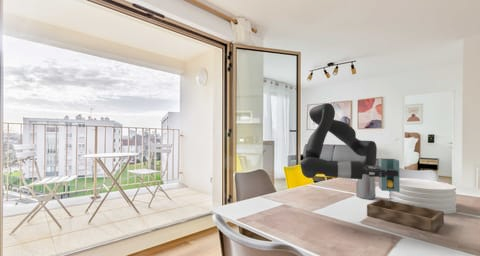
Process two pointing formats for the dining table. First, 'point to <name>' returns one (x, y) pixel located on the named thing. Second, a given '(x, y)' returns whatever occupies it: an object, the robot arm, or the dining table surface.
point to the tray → (406, 215)
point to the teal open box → (389, 165)
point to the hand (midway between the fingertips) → (395, 172)
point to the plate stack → (426, 194)
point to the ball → (390, 183)
